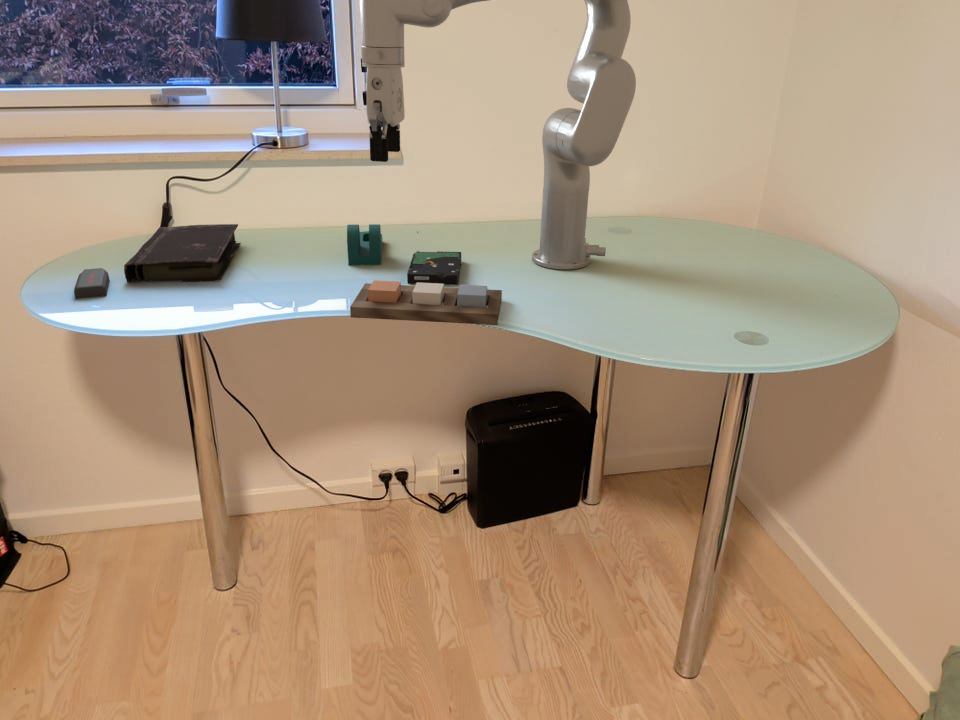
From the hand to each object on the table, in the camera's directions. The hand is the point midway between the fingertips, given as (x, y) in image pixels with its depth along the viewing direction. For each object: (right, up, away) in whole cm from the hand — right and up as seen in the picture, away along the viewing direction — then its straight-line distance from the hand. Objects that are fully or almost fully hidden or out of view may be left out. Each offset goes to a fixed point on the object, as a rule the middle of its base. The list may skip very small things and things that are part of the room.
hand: (385, 156), depth 140 cm
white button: (+8, -29, -3) cm, 30 cm away
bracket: (-8, -14, +26) cm, 31 cm away
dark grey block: (-56, -25, +4) cm, 62 cm away
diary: (-43, -18, +18) cm, 50 cm away
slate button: (+16, -29, -4) cm, 34 cm away
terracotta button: (0, -28, -3) cm, 28 cm away
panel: (+8, -29, -3) cm, 30 cm away
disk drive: (+8, -21, +15) cm, 27 cm away
